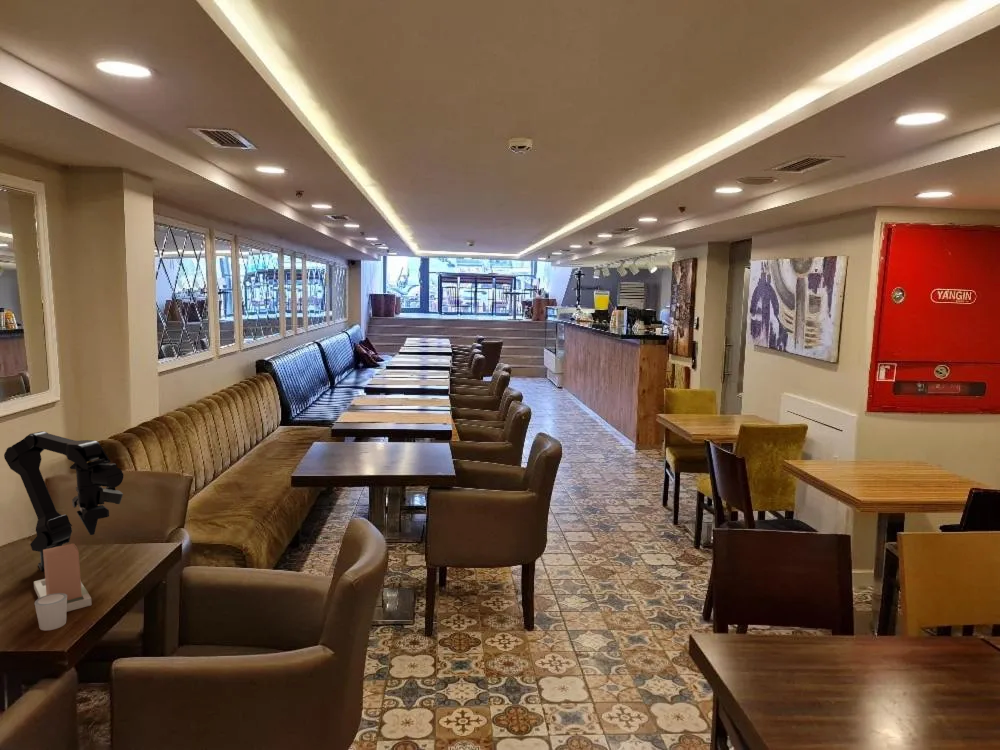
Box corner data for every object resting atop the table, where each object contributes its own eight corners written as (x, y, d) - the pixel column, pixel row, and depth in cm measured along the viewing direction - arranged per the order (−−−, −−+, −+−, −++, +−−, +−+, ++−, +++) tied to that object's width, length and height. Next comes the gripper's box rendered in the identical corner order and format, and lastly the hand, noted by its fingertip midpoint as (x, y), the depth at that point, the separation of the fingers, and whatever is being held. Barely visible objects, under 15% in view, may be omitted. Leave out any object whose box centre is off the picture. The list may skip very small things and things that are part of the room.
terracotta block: (46, 595, 175) (42, 549, 173) (76, 587, 180) (73, 543, 178) (50, 604, 170) (47, 557, 168) (81, 596, 175) (78, 550, 173)
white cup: (56, 632, 160) (54, 605, 159) (29, 631, 160) (27, 604, 160) (75, 618, 167) (73, 592, 166) (49, 617, 167) (47, 592, 166)
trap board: (34, 588, 183) (33, 581, 183) (75, 578, 190) (74, 571, 190) (47, 617, 167) (46, 609, 167) (91, 604, 174) (91, 597, 174)
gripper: (127, 485, 189) (130, 536, 191) (111, 472, 203) (115, 520, 205) (82, 493, 182) (86, 546, 184) (70, 478, 195) (73, 528, 197)
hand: (92, 534), depth 192 cm, fingers closed
